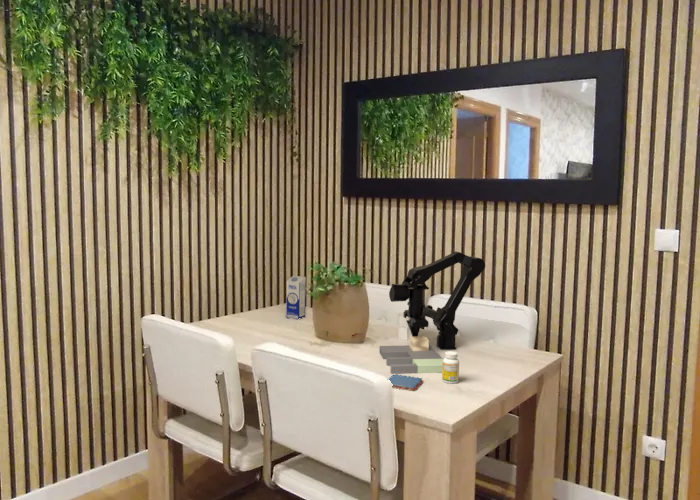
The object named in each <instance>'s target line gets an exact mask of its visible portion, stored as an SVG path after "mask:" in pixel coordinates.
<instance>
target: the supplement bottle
mask: <svg viewBox="0 0 700 500" xmlns="http://www.w3.org/2000/svg"><path fill="white" fill-rule="evenodd" d="M441 377H442V381H443V383H445V384H450V385H453V384H457V383H459V380H460V379H459V378H460V360H459V358H458V352H457V351H450V350H448V351H445V353H444V358H443V373H442V375H441Z"/></svg>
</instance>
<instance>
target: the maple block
mask: <svg viewBox="0 0 700 500" xmlns="http://www.w3.org/2000/svg"><path fill="white" fill-rule="evenodd" d="M429 343H430V340H429V339H428V338H427V337H426V336H423V335H422V336H420V335H419V336H413V337H410V340H409V345H410V348H411V349H412V351H429V345H430V344H429Z"/></svg>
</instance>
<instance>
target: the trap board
mask: <svg viewBox="0 0 700 500" xmlns="http://www.w3.org/2000/svg"><path fill="white" fill-rule="evenodd" d="M379 354H380V356H381V357H382V359H383V360H385V363H386V366H387V367H388V366H390V373H391V374H392V375H396V374H398V375H401V374H434V373H438V374H440V373H442V374H443V359H444V358H443V356H441V355H440V354H439V352H438V351H436V350H435V348H433V347H432V345H430V344H429V351H412V349H411V348H410V344H409V345H379Z"/></svg>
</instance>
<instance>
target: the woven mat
mask: <svg viewBox="0 0 700 500" xmlns="http://www.w3.org/2000/svg"><path fill="white" fill-rule="evenodd" d="M388 379H389V380H390V381H391V383H392V384H393V388H392V389H396V390H397V389H398V390H403V391H404V390H405V391H408V392H411V391H412V392H415V391H416V390H417V389H418V388H419V387H420V386H421V385H422V384H423V383H424V380H423V378H422V377H418V376H417V377H415V376H410V375H404V374H392V375H391V376H390V377H389V378H388Z"/></svg>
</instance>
